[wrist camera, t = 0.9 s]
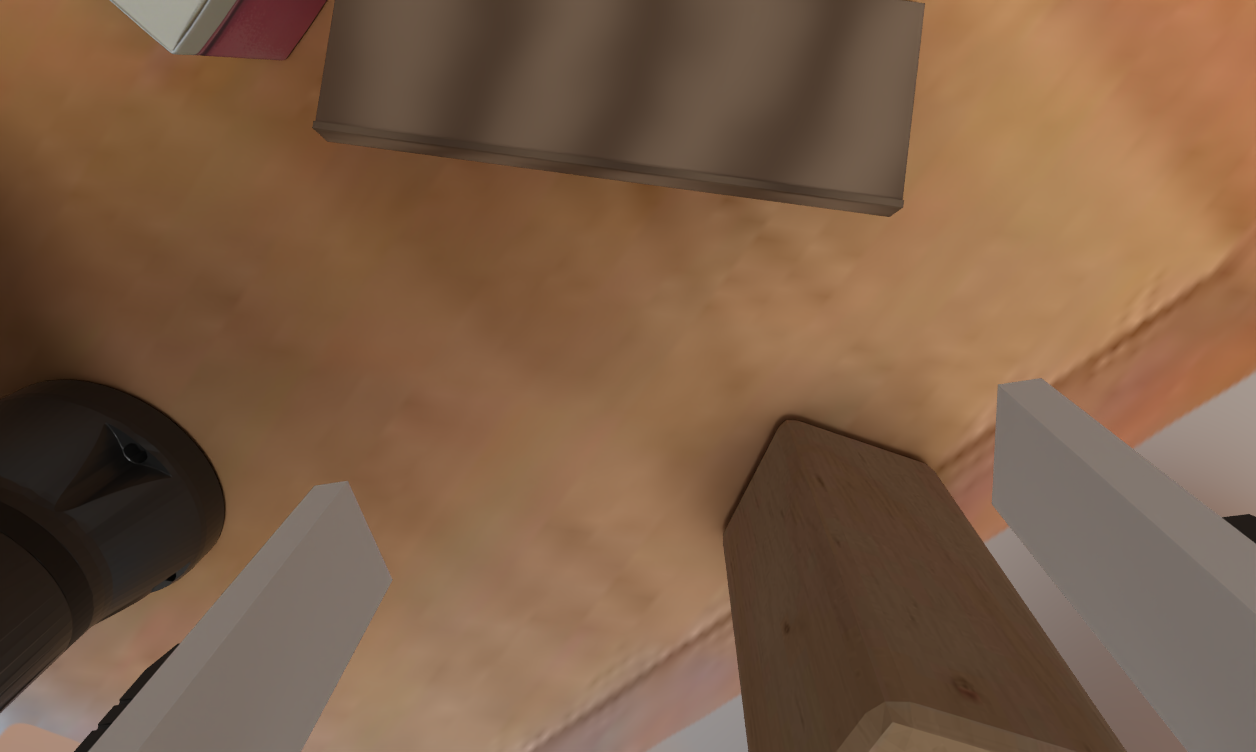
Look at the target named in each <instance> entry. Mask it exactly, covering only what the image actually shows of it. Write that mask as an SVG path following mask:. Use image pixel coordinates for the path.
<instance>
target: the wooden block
mask: <svg viewBox="0 0 1256 752" xmlns="http://www.w3.org/2000/svg"><path fill="white" fill-rule="evenodd" d="M723 546H724V554H725V562H726V571H727V579H728V587H729V595H730V603H731V612H732V620H733V628H734V636H735V645H736V653H737V661H738V669H739V678H740V686H741V694H742V702H743V710H744V719H745V727H746V735H747V743H748V752H1127V751H1126V750H1125V748H1124V747H1123V746H1122V744H1121V743H1120V741H1119V740H1118V738H1117V737H1116V735H1115V734H1114V732H1113V731H1112V729H1111V728H1110V727H1109V725H1108V724H1107V722H1106V721H1105V719H1104V718H1103V716H1102V715H1101V714H1100V712H1099V710H1098V709H1097V708H1096V706H1095V705H1094V703H1093V702H1092V700H1091V699H1090V697H1089V696H1088V694H1087V693H1086V692H1085V690H1084V689H1083V687H1082V686H1081V684H1080V683H1079V681H1078V680H1077V678H1076V677H1075V675H1074V674H1073V673H1072V671H1071V670H1070V668H1069V667H1068V665H1067V664H1066V662H1065V661H1064V659H1063V658H1062V657H1061V655H1060V654H1059V652H1058V651H1057V649H1056V648H1055V646H1054V645H1053V643H1052V642H1051V640H1050V639H1049V638H1048V636H1047V635H1046V633H1045V632H1044V631H1043V629H1042V627H1041V626H1040V624H1039V623H1038V622H1037V620H1036V619H1035V617H1034V616H1033V614H1032V613H1031V611H1030V610H1029V608H1028V607H1027V605H1026V604H1025V603H1024V601H1023V600H1022V598H1021V597H1020V595H1019V594H1018V593H1017V591H1016V589H1015V588H1014V587H1013V585H1012V584H1011V582H1010V581H1009V579H1008V578H1007V576H1006V575H1005V573H1004V572H1003V571H1002V569H1001V568H1000V566H999V565H998V563H997V562H996V560H995V559H994V557H993V556H992V554H991V553H990V552H989V550H988V549H987V547H986V546H985V544H984V543H983V541H982V540H981V538H980V537H979V535H978V534H977V533H976V531H975V530H974V528H973V527H972V525H971V524H970V522H969V521H968V519H967V518H966V517H965V515H964V514H963V512H962V511H961V509H960V508H959V506H958V505H957V503H956V502H955V500H954V499H953V498H952V496H951V495H950V493H949V492H948V490H947V489H946V487H945V486H944V484H943V483H942V482H941V480H940V479H939V477H938V476H937V474H936V473H935V472H934V471H933V470H932V469H931V468H930V467H929V466H928V465H927V464H924V463H922V462H919V461H916V460H913V459H910V458H907V457H904V456H901V455H898V454H895V453H892V452H889V451H886V450H883V449H880V448H878V447H875V446H872V445H869V444H866V443H863V442H860V441H857V440H854V439H851V438H848V437H845V436H842V435H839V434H836V433H833V432H830V431H827V430H824V429H821V428H818V427H815V426H812V425H809V424H806V423H803V422H800V421H797V420H786V421H784V422H783V423H782V424H781V425H780V426H779V428H778V430H777V431H776V433H775V435H774V437H773V439H772V441H771V443H770V445H769V447H768V449H767V451H766V453H765V454H764V456H763V458H762V460H761V462H760V464H759V466H758V468H757V470H756V472H755V474H754V476H753V478H752V480H751V481H750V483H749V485H748V487H747V489H746V491H745V493H744V495H743V497H742V499H741V501H740V503H739V505H738V506H737V508H736V510H735V512H734V514H733V516H732V518H731V520H730V522H729V524H728V526H727V528H726V530H725V532H724V533H723Z"/></svg>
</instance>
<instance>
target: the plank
mask: <svg viewBox="0 0 1256 752" xmlns="http://www.w3.org/2000/svg"><path fill="white" fill-rule="evenodd" d="M924 7H925V3H918V2H910V1H903V0H335V4H334V10H333V16H332V22H331V28H330V35H329V41H328V47H327V53H326V59H325V66H324V72H323V78H322V84H321V90H320V96H319V103H318V109H317V115H316V121H313V127H312V128H313V129H314V130H315V131H316V132H318V133H319V134H320V135H321V136H322V137H323V138H324V139H325V140H326V141H328V142H336V143H343V144H351V145H358V146H365V147H373V148H380V149H388V150H395V151H403V152H410V153H418V154H425V155H432V156H440V157H447V158H455V159H462V160H470V161H477V162H485V163H492V164H499V165H507V166H514V167H522V168H529V169H537V170H544V171H552V172H559V173H566V174H574V175H581V176H589V177H596V178H604V179H611V180H619V181H626V182H633V183H641V184H648V185H656V186H663V187H671V188H678V189H685V190H693V191H700V192H708V193H715V194H723V195H730V196H738V197H745V198H752V199H760V200H767V201H775V202H782V203H790V204H797V205H805V206H812V207H819V208H827V209H834V210H842V211H849V212H857V213H864V214H872V215H879V216H886V217H890V216H892V215H893V214H894V213H896V212H897V211H899V210H900V209H901V208H903V204H904V200H903V191H904V182H905V173H906V165H907V156H908V147H909V138H910V129H911V121H912V112H913V103H914V94H915V86H916V77H917V68H918V59H919V51H920V42H921V33H922V24H923V16H924Z"/></svg>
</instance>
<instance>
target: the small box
mask: <svg viewBox="0 0 1256 752" xmlns="http://www.w3.org/2000/svg"><path fill="white" fill-rule="evenodd" d="M110 1H111V2H112V3H114V4H115V5H116V6H117V7H118V8H119V9H120V10H121V11H123V12H124V13H125V14H126V15H127V16H128V17H129V18H131V19H132V20H133V21H134V22H135V23H136V24H138V25H139V26H140V27H141V28H142V29H143V30H145V31H146V32H147V33H148V34H149V35H150V36H151V37H152V38H154V39H155V40H156V41H157V42H159V43H160V44H161V45H162V46H163V47H164V48H166V49H167V50H168V51H169V52H170V53H172V54H182V55H203V56H218V57H235V58H252V59H270V60H285V59H286V58H287V57H288V55H289V54H290V53H291V51H292V50H293V48H294V47H295V46H296V44H297V43H298V42H299V40H300V39H301V37H302V36H303V35H304V33H305V32H306V30H307V29H308V27H309V26H310V25H311V23H312V22H313V20H314V19H315V17H316V16H317V14H318V13H319V11H320V9H321V8H322V6H323V5H324V3H325V2H326V0H110Z"/></svg>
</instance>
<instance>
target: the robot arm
mask: <svg viewBox="0 0 1256 752" xmlns="http://www.w3.org/2000/svg"><path fill="white" fill-rule="evenodd" d="M992 505H993V506H994V507H995V509H996V510H997V511H998V512H999V514H1000V515H1001V516H1002V518H1003V519H1004V520H1005V521H1006V523H1007V524H1008V525H1009V526H1010V528H1011V529H1012V530H1013V531H1014V533H1015V534H1016V535H1017V536H1018V538H1019V539H1020V540H1021V541H1022V542H1023V544H1024V545H1025V546H1026V548H1027V549H1028V550H1029V552H1030V553H1031V554H1032V555H1033V557H1034V558H1035V559H1036V560H1037V562H1038V563H1039V564H1040V566H1041V567H1042V568H1043V569H1044V571H1045V572H1046V573H1047V574H1048V575H1049V577H1050V578H1051V579H1052V581H1053V582H1054V583H1055V584H1056V586H1057V587H1058V588H1059V590H1060V591H1061V592H1062V593H1063V594H1064V596H1065V597H1066V598H1067V600H1068V601H1069V602H1070V603H1071V605H1072V606H1073V607H1074V608H1075V610H1076V611H1077V612H1078V614H1079V615H1080V616H1081V617H1082V619H1083V620H1084V621H1085V622H1086V624H1087V625H1088V626H1089V627H1090V628H1091V630H1092V631H1093V632H1094V634H1095V635H1096V636H1097V637H1098V639H1099V640H1100V641H1101V643H1102V644H1103V645H1104V646H1105V648H1106V649H1107V650H1108V651H1109V653H1110V654H1111V655H1112V656H1113V658H1114V659H1115V660H1116V662H1117V663H1118V664H1119V665H1120V667H1121V668H1122V669H1123V670H1124V672H1125V673H1126V674H1127V675H1128V677H1129V678H1130V679H1131V681H1132V682H1133V683H1134V684H1135V686H1136V687H1137V688H1138V689H1139V691H1140V692H1141V693H1142V694H1143V696H1144V697H1145V698H1146V699H1147V701H1148V702H1149V703H1150V705H1151V706H1152V707H1153V708H1154V709H1155V711H1156V712H1157V713H1158V714H1159V716H1160V717H1161V718H1162V720H1163V721H1164V722H1165V723H1166V725H1167V726H1168V727H1169V728H1170V730H1171V731H1172V732H1173V733H1174V735H1175V736H1176V737H1177V738H1178V740H1179V741H1180V742H1181V743H1182V745H1183V746H1184V747H1185V749H1186V750H1187V751H1188V752H1256V517H1255V516H1252V515H1250V514H1247V515H1238V516H1230V517H1220V516H1219V515H1218V514H1216V513H1215V512H1214V511H1212V510H1211V509H1210V508H1208V507H1207V506H1206V505H1205V504H1203V503H1202V502H1201V501H1200V500H1198V499H1197V498H1196V497H1194V496H1193V495H1192V494H1190V493H1189V492H1188V491H1187V490H1185V489H1184V488H1183V487H1182V486H1180V485H1179V484H1178V483H1176V482H1175V481H1174V480H1172V479H1171V478H1170V477H1169V476H1167V475H1166V474H1165V473H1163V472H1162V471H1161V470H1159V469H1158V468H1157V467H1156V466H1154V465H1153V464H1152V463H1150V462H1149V461H1148V460H1147V459H1145V458H1144V457H1143V456H1141V455H1140V454H1139V453H1137V452H1136V451H1135V450H1134V449H1132V448H1131V447H1130V446H1128V445H1127V444H1126V443H1125V442H1123V441H1122V440H1121V439H1119V438H1118V437H1117V436H1115V435H1114V434H1113V433H1112V432H1110V431H1109V430H1108V429H1106V428H1105V427H1104V426H1103V425H1101V424H1100V423H1099V422H1097V421H1096V420H1095V419H1093V418H1092V417H1091V416H1090V415H1088V414H1087V413H1086V412H1084V411H1083V410H1082V409H1080V408H1079V407H1078V406H1077V405H1075V404H1074V403H1073V402H1071V401H1070V400H1069V399H1068V398H1066V397H1065V396H1064V395H1062V394H1061V393H1060V392H1058V391H1057V390H1056V389H1055V388H1053V387H1052V386H1051V385H1049V384H1048V383H1047V382H1046V381H1044V380H1043V379H1042V378H1039V379H1033V380H1026V381H1019V382H1012V383H1006V384H999V385H998V394H997V413H996V433H995V452H994V472H993V492H992ZM223 522H224V501H223V496H222V491H221V488H220V485H219V482H218V480H217V477H216V475H215V473H214V471H213V469H212V467H211V466H210V464H209V462H208V461H207V459H206V458H205V456H204V455H203V453H202V452H201V451H200V449H199V448H198V447H197V446H196V445H195V443H194V442H193V441H192V440H191V439H190V438H189V437H188V436H187V435H186V434H185V433H184V432H183V431H182V430H181V429H180V428H179V427H178V426H177V425H175V424H174V423H173V422H172V421H171V420H169V419H168V418H167V417H165V416H164V415H163V414H161V413H160V412H158V411H157V410H156V409H154V408H152V407H151V406H149V405H147V404H146V403H144V402H142V401H140V400H138V399H136V398H134V397H132V396H130V395H128V394H126V393H123V392H121V391H118V390H115V389H113V388H110V387H106V386H103V385H99V384H95V383H90V382H84V381H76V380H52V381H45V382H40V383H36V384H33V385H30V386H27V387H25V388H23V389H21V390H19V391H17V392H15V393H12V394H10V395H8V396H6V397H4V398H2V399H0V713H1V712H2V711H3V710H4V709H5V708H6V707H7V706H8V705H9V704H10V703H12V702H13V701H14V700H15V699H16V698H17V697H18V696H19V695H20V694H21V693H22V692H23V691H24V690H25V689H26V688H27V687H28V686H29V685H30V684H31V683H32V682H33V681H34V680H36V679H37V678H38V677H39V676H40V675H41V674H42V673H43V672H44V671H45V670H46V669H47V668H48V667H49V666H50V665H51V664H52V663H53V662H54V661H55V660H56V659H58V658H59V657H60V656H61V655H62V654H63V653H64V652H65V651H66V650H67V649H68V648H69V647H70V646H71V645H72V644H73V643H74V642H75V641H76V640H77V639H78V638H79V637H81V636H82V635H83V634H84V633H85V632H86V631H87V630H88V629H89V628H91V627H92V626H94V625H95V624H97V623H99V622H101V621H103V620H105V619H107V618H108V617H110V616H112V615H114V614H116V613H118V612H120V611H122V610H123V609H125V608H127V607H129V606H131V605H132V604H134V603H136V602H137V601H139V600H141V599H142V598H144V597H145V596H147V595H148V594H150V593H151V592H155V591H158V590H160V589H162V588H164V587H167V586H169V585H170V584H172V583H174V582H176V581H177V580H179V579H180V578H181V577H183V576H184V575H185V574H187V573H188V572H189V571H190V570H191V569H192V568H193V567H194V566H195V565H196V564H197V563H198V562H199V561H200V560H201V559H202V558H203V557H204V556H205V555H206V554H207V553H208V552H209V551H210V550H211V548H212V547H213V546H214V545H215V543H216V542H217V540H218V538H219V536H220V533H221V531H222V527H223ZM391 582H392V578H391V575H390V573H389V571H388V569H387V567H386V564H385V562H384V560H383V558H382V556H381V553H380V551H379V549H378V547H377V545H376V542H375V540H374V538H373V536H372V533H371V531H370V529H369V527H368V525H367V522H366V520H365V518H364V516H363V514H362V511H361V509H360V507H359V505H358V502H357V500H356V498H355V496H354V494H353V491H352V489H351V487H350V485H349V483H348V481H344V482H337V483H330V484H323V485H317V486H314V487H313V488H312V489H311V490H310V492H309V493H308V494H307V495H306V496H305V498H304V499H303V500H302V501H301V502H300V503H299V505H298V506H297V507H296V508H295V509H294V510H293V512H292V513H291V514H290V515H289V516H288V517H287V519H286V520H285V521H284V522H283V523H282V525H281V526H280V527H279V528H278V529H277V530H276V532H275V533H274V534H273V535H272V536H271V537H270V539H269V540H268V541H267V542H266V543H265V545H264V546H263V547H262V548H261V549H260V550H259V552H258V553H257V554H256V555H255V556H254V557H253V559H252V560H251V561H250V562H249V563H248V564H247V566H246V567H245V568H244V569H243V570H242V572H241V573H240V574H239V575H238V576H237V577H236V579H235V580H234V581H233V582H232V583H231V584H230V586H229V587H228V588H227V589H226V590H225V591H224V593H223V594H222V595H221V596H220V597H219V599H218V600H217V601H216V602H215V603H214V604H213V606H212V607H211V608H210V609H209V610H208V611H207V613H206V614H205V615H204V616H203V617H202V619H201V620H200V621H199V622H198V623H197V624H196V626H195V627H194V628H193V629H192V630H191V631H190V633H189V634H188V635H187V636H186V637H185V638H184V640H183V641H182V642H181V643H180V644H177V645H176V646H174V647H173V648H172V649H171V650H169V651H168V652H167V653H166V654H165V655H163V656H162V657H161V658H160V659H158V660H157V661H156V662H155V663H153V664H152V665H151V666H150V667H149V668H147V669H146V670H145V671H144V672H143V673H142V674H141V676H140V677H139V678H138V679H137V680H136V681H135V682H134V684H133V685H132V686H131V687H130V688H129V689H128V690H127V692H126V693H125V694H124V695H123V696H122V697H121V698H120V703H119V705H115V706H113V708H112V709H111V710H110V711H109V712H108V713H107V714H106V716H105V717H104V718H103V719H102V720H101V721H100V723H99V724H98V729H97V730H94V731H92V732H91V733H90V734H89V735H88V736H87V737H86V739H85V740H84V741H83V742H82V743H81V744H80V745H79V747H78V748H77V749H76V750H75V751H74V752H301V751H302V749H303V747H304V745H305V743H306V741H307V739H308V737H309V736H310V734H311V732H312V730H313V728H314V726H315V724H316V722H317V721H318V719H319V717H320V715H321V713H322V711H323V709H324V707H325V706H326V704H327V702H328V700H329V698H330V696H331V694H332V692H333V691H334V689H335V687H336V685H337V683H338V681H339V679H340V677H341V676H342V674H343V672H344V670H345V668H346V666H347V664H348V662H349V661H350V659H351V657H352V655H353V653H354V651H355V649H356V647H357V646H358V644H359V642H360V640H361V638H362V636H363V634H364V632H365V631H366V629H367V627H368V625H369V623H370V621H371V619H372V617H373V616H374V614H375V612H376V610H377V608H378V606H379V604H380V602H381V601H382V599H383V597H384V595H385V593H386V591H387V589H388V587H389V586H390V584H391Z"/></svg>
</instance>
